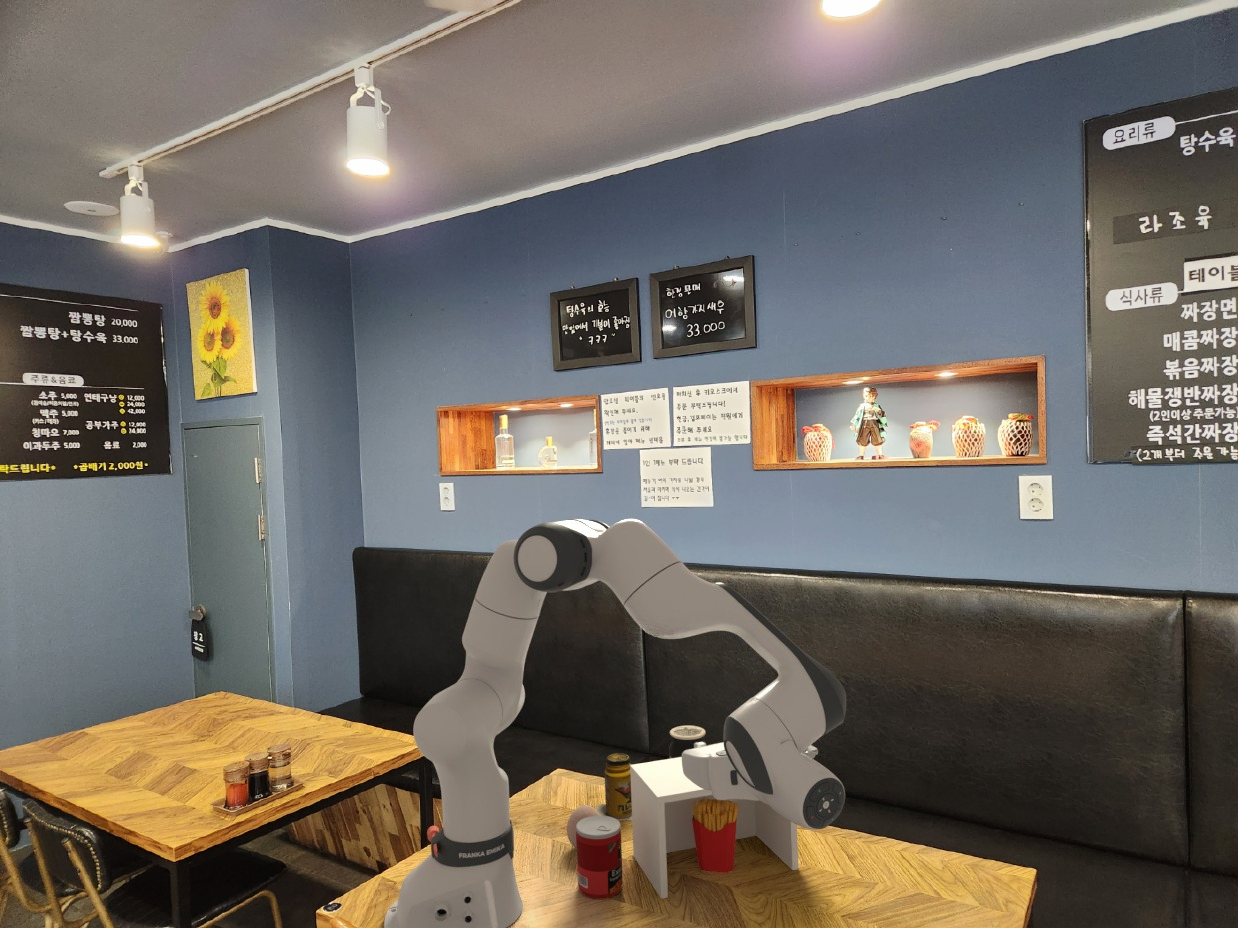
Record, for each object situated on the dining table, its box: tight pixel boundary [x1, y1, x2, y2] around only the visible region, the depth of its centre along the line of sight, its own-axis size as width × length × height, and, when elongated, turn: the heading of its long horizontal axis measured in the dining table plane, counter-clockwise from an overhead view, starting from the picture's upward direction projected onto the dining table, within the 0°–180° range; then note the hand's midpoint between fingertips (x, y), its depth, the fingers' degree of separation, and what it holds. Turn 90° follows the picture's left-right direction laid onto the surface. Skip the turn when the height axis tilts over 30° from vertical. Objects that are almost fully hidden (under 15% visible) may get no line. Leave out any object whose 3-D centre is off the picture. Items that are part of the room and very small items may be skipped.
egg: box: [566, 804, 600, 850], centre depth 146 cm, size 7×7×8 cm
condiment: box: [596, 752, 632, 821], centre depth 161 cm, size 7×8×12 cm
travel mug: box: [668, 725, 707, 759], centre depth 158 cm, size 8×8×18 cm
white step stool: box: [630, 757, 799, 899], centre depth 139 cm, size 26×15×17 cm, turn 107°
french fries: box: [692, 798, 738, 874], centre depth 138 cm, size 8×4×12 cm, turn 78°
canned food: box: [575, 816, 624, 900], centre depth 132 cm, size 8×8×11 cm
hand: (723, 741), depth 126 cm, fingers open, 8 cm apart
